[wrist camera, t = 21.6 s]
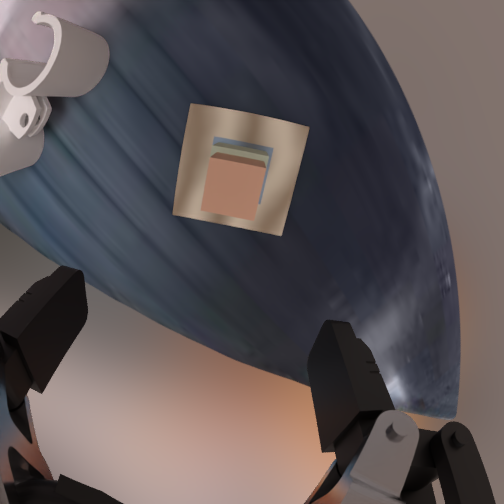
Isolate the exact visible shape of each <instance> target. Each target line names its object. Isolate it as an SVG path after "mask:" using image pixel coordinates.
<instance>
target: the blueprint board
mask: <svg viewBox="0 0 504 504" xmlns="http://www.w3.org/2000/svg"><path fill="white" fill-rule="evenodd" d="M308 132H309V127H307V126H303V125H299V124H295V123H291V122H288V121H283V120H279V119H275V118H271V117H266V116H262V115H257V114H252V113H247V112H242V111H236V110H231V109H225V108H219V107H213V106H206V105H199V104H191V105H190V110H189V115H188V120H187V125H186V130H185V135H184V141H183V147H182V152H181V158H180V165H179V171H178V178H177V185H176V192H175V199H174V207H173V215H177V216H182V217H188V218H193V219H198V220H203V221H209V222H214V223H219V224H224V225H229V226H234V227H239V228H244V229H249V230H254V231H259V232H264V233H269V234H274V235H279V236H281V235H282V232H283V228H284V224H285V221H286V217H287V213H288V209H289V206H290V202H291V198H292V194H293V190H294V187H295V183H296V179H297V175H298V171H299V167H300V163H301V159H302V155H303V152H304V148H305V144H306V140H307V136H308ZM218 142H221V143H227V144H232V145H237V146H242V147H247V148H252V149H257V150H261V151H266V152H267V154H268V155H269V159H268V163H267V168H266V172H265V177H264V181H263V185H262V189H261V194H260V198H259V202H258V207H257V211H256V215H255V219H254V221H251V220H246V219H241V218H236V217H231V216H226V215H221V214H216V213H211V212H205V211H201V205H202V198H203V192H204V187H205V181H206V175H207V170H208V165H209V159H210V154H211V149H212V145H214V144H216V143H218Z"/></svg>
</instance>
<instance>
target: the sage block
mask: <svg viewBox="0 0 504 504" xmlns="http://www.w3.org/2000/svg"><path fill="white" fill-rule="evenodd" d="M216 152H219V153H225V154H230V155H235V156H240V157H245V158H250V159H255V160H260V161H264V163H265V166H266V168H267V163H268V159H269V155H268V154H267V152H266V151H261V150H257V149H252V148H247V147H242V146H237V145H232V144H227V143H221V142H218V143H216V144H214V145H212V149H211V154H210V157H211V156H212V155H214V154H215V153H216ZM209 160H210V159H209ZM206 176H207V175H206ZM203 193H204V192H203ZM202 199H203V198H202Z"/></svg>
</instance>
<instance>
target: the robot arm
mask: <svg viewBox="0 0 504 504" xmlns="http://www.w3.org/2000/svg"><path fill="white" fill-rule="evenodd" d="M87 314H88V306H87V299H86V291H85V281H84V274H83V272H82V271H81V270H78V269H74V268H70V267H67V266H60V267H59V268H58V269H57V270H56V271H54V272H53V273H52V274H51V276H49V277H48V276H47V277H45V278H43V279H41V280H39V281H37V282H35V283H34V284H33V285H32V286H31V287H30V288H29V289H28V290H27V291H26V294H25V293H24V294H23V295H22V296H21V297H20V298H19V301H16V302H15V303H14V304H13V305H12V307H10V308H9V310H8V311H7V312H6V313H5V314H4V315H3V316H2V317H1V318H0V504H123V503H121V502H119V501H117V500H116V499H114V498H112V497H111V496H109V495H107V494H106V493H104V492H102V491H100V490H97V489H95V488H92V487H89V486H87V485H84V484H82V483H80V482H77V481H75V480H72V479H70V478H68V477H66V476H64V475H62V474H60V476H59V479H58V481H57V480H54V479H53V477H52V474H51V471H50V470H49V467H48V465H47V463H46V461H45V459H44V457H43V456H42V454H41V452H40V449H39V446H38V442H37V438H36V434H35V430H34V425H33V420H32V415H31V410H30V404H29V399H28V396H27V393H28V390H29V389H30V388H31V389H33V390H35V391H37V392H39V393H41V394H42V393H43V391H44V390H45V388H46V386H47V384H48V382H49V381H50V379H51V377H52V376H53V374H54V372H55V371H56V369H57V367H58V366H59V364H60V362H61V361H62V359H63V357H64V356H65V354H66V352H67V351H68V349H69V348H70V346H71V345H72V343H73V342H74V340H75V339H76V337H77V335H78V334H79V332H80V331H81V329H82V328H83V326H84V325H85V322H86V320H87ZM375 362H376V361H375V359H374V357H373V354H372V352H371V350H370V349H369V347H368V346H367V345H366V344H365V343H364V342H363V341H362V340H361V339H359V338H356V336H355V334H354V331H353V329H352V327H351V324H350V323H349V322H342V321H334V320H326V321H325V322H324V323H323V325H322V327H321V330H320V332H319V334H318V336H317V338H316V341H315V343H314V345H313V347H312V349H311V351H310V353H309V357H308V362H307V371H308V376H309V382H310V387H311V392H312V398H313V403H314V409H315V414H316V419H317V426H318V432H319V438H320V443H321V450H322V453H323V452H335V454H336V459H335V460H334V461H333V463H332V464H331V466H330V467H329V469H328V470H327V472H326V473H325V475H324V477H323V478H322V479H321V481H320V482H319V484H318V485H317V487H316V488H315V489H314V491H313V492H312V494H311V495H310V496H309V498H308V499H307V500H306V502H305V503H304V504H436V500H435V496H434V491H433V487H432V484H431V483H432V482H433V481H435V480H436V479H438V478H439V480H440V484H441V488H442V492H443V496H444V500H445V504H496V503H495V500H494V496H493V493H492V489H491V486H490V483H489V480H488V477H487V474H486V471H485V468H484V465H483V462H482V460H481V457H480V454H479V452H478V449H477V447H476V444H475V442H474V439H473V437H472V434H471V433H470V431H469V430H468V428H466V427H465V426H464V425H463V424H461V423H459V422H449V423H447V424H446V425H444V427H442V428H441V429H440V430H439V431H438V432H436V431H430V430H424V429H419V428H418V427H417V425H416V423H415V422H414V421H413V419H412V418H411V417H410V416H408V415H407V414H405V413H403V412H401V411H397V410H395V408H394V405H393V403H392V400H391V398H390V395H389V393H388V390H387V388H386V385H385V383H384V380H383V378H382V375H381V374H379V372H380V371H379V368H378V366H377V364H375Z"/></svg>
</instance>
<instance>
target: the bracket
mask: <svg viewBox="0 0 504 504" xmlns="http://www.w3.org/2000/svg"><path fill="white" fill-rule="evenodd" d="M32 21H33V22H34V23H35V24H37V25H39V24H40V25H43V26H46V27H49V28H53V30H54V46H53V50H52V53H51V56H50V58H49V61H48V63H41V62H34V61H27V60H18V59H9V58H4V59H3V60H2V61H1V63H0V176H3V175H5V174H8V173H11V172H14V171H17V170H20V169H23V168H26V167H29V166H31V165H33V164H34V163H36V161H37V160H38V159H39V157H40V155H41V153H42V150H43V146H44V130H43V127H44V126H45V124H46V122H47V120H48V118H49V116H50V113H51V110H52V107H51V105H50V103H49V100H48V98H47V96H58V97H78V96H81V95H84V94H86V93H87V92H89V91H90V90H92V89H93V88H94V87H95V86H96V85H97V84H98V82H99V81H100V80H101V78H102V77H103V75H104V73H105V71H106V69H107V66H108V63H109V56H110V52H109V46H108V44H107V42H106V40H105V39H104V38H103V37H102V36H100V35H98V34H96V33H94V32H91V31H89V30H87V29H85V28H82V27H80V26H78V25H75V24H73V23H71V22H68V21H66V20H63V19H61V18H58V17H56V16H53V15H49V14H46V13H43V12H41V11H38V12H37V13H35V14H34V16H33V18H32ZM39 115H40V120H39V119H38V117H39Z"/></svg>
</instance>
